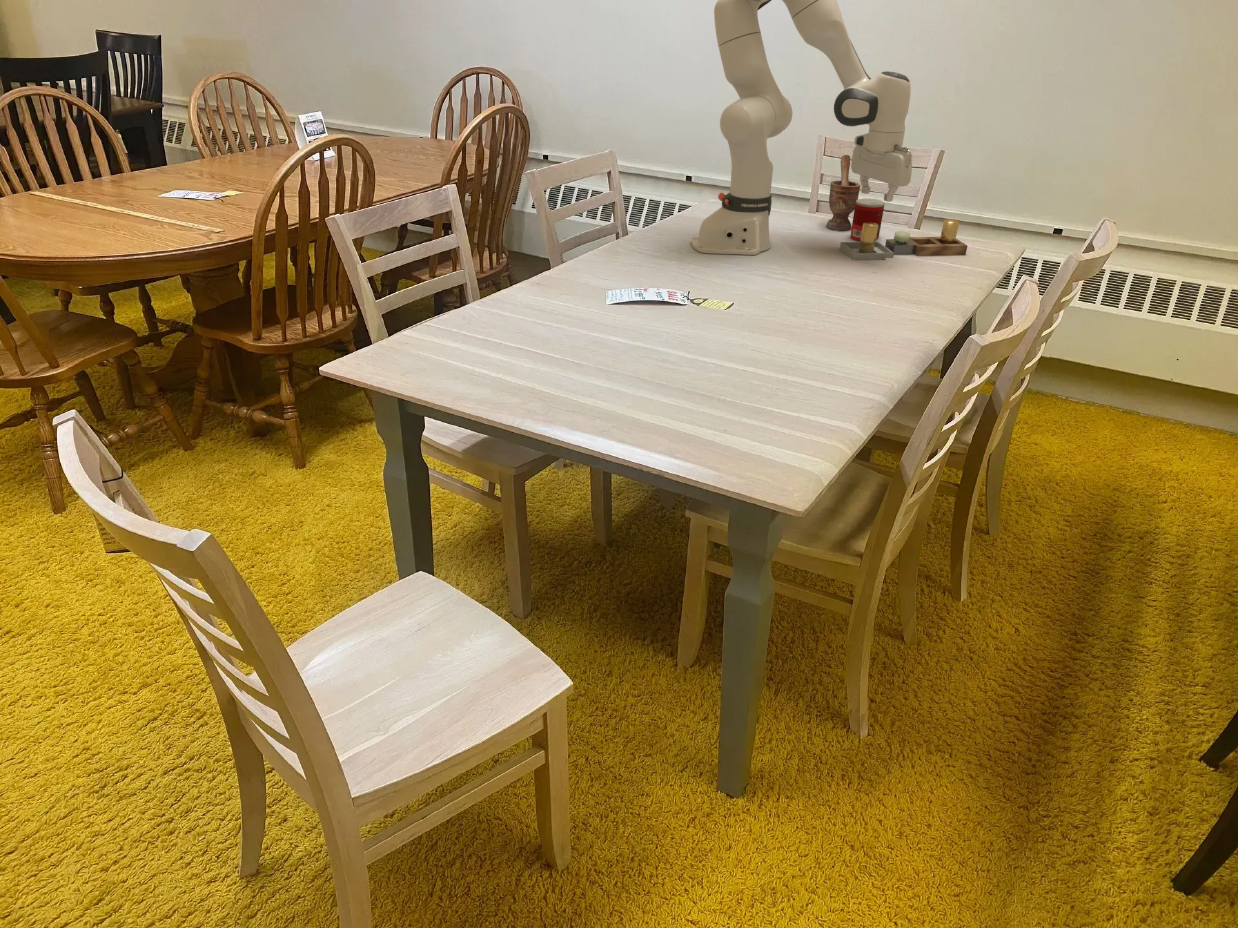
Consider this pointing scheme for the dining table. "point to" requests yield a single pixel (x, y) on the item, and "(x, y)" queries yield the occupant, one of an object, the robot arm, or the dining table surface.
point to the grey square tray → (853, 250)
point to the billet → (868, 237)
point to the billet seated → (949, 231)
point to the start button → (901, 237)
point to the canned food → (866, 216)
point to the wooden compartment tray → (937, 247)
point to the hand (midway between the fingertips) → (876, 197)
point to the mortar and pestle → (842, 198)
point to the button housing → (900, 247)
